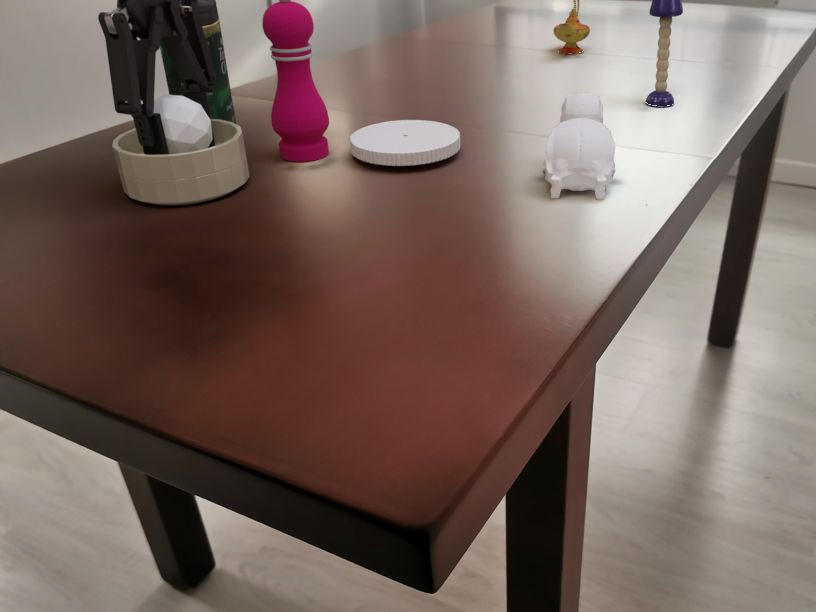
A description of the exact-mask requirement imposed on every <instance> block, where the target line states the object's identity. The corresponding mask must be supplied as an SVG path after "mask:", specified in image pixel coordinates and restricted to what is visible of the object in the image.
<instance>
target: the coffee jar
mask: <svg viewBox="0 0 816 612" xmlns="http://www.w3.org/2000/svg"><path fill="white" fill-rule="evenodd" d="M198 8H199V17H200V20H201V24H202V27H203V31H204V34H205V38H206V41H207V45H208V48H209V52H210V56H211V59H212V63H213V66H214V70H215V73H216V81H215V82H210V83H214V91H213V92H207V98H208V103H209V104H208V105H209V108H210V119H220V120H225V121H229V122H233V123H235V124H237V119H236V112H235V107H234V102H233V96H232V95H233V94H232V90H231V84H230V83H231V82H230V76H229V71H228V64H227V59H226V52H225V47H224V46H225V45H224V40H223V33H222V27H221V21H220V15H219V11H218V5H217V0H198ZM159 50H160V54H161V61H162V64H163V70H164V75H165V80H166V86H167V91H168V95H178V96H182V93H185V92H190V91H189V90H187V89H186V87H185V86H184V84H183V82H182V80H181V78H180V76H179V74H178V72H177V70H176V68H175V66H174V64H173V62H172V60H171V58H170V56H169V54H168V52H167V50H166V48H165V46H164V44H163V42H162V41H160V48H159ZM202 71H205V69H202Z"/></svg>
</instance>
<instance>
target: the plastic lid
mask: <svg viewBox="0 0 816 612" xmlns="http://www.w3.org/2000/svg"><path fill="white" fill-rule="evenodd" d="M349 147H350V154H351V155H352V156H353V157H354V158H356V159H357V160H359V161H362V162H366V163H369V164H373V165H380V166H381V165H382V166H388V167H389V166H392V167H395V166H396V167H401V166H402V167H405V166H408V167H409V166H417V165H418V166H420V165H426V164H430V163H432V164H433V163H435V162H439V161H443V160H446V159H448V158H450V157H453V156H455V155H456V154H457V153H458V152H459V151H460V149H461V132H460V130H458V128H456V127H454V126H452V125H451V124H450V125H449V124H447V123H444V122H439V121H434V120H427V119H426V120H425V119H423V120H422V119H401V120H399V119H398V120H397V119H396V120H391V121H390V120H388V121H383V122H378V123H377V122H376V123H374V124H370V125H367V126H364V127H361V128H358V130H355V131H354V132H352V133H351V134H350V136H349Z"/></svg>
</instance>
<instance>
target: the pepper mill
mask: <svg viewBox="0 0 816 612" xmlns="http://www.w3.org/2000/svg"><path fill="white" fill-rule="evenodd" d="M314 24H315V23H314V20H313V16H312V14H311V12H310V11H309V9H308V8H307V7H306V6H304V5H303V4H302V3H300V2H296V1H292V0H278V1H277V2H274V3H273V4H271V5H270V6H267V8H266V9H265V11H264V13H263V15H262V30H263V33H264V35H265V37H266V38H267V39H268V41H270V43H271V44H272V45H271V46H270V47H269V50H270V51H271V52H270V53H271V55H270V57H271V59H272V60H274V61H275V67H276V73H277V82H276V83H277V84H276V90H275V94H274V99H273V103H272V105H271V113H270V121H271V127H272V129H273V131H274V132H275V134H277V135H278V136H279V137H280V138H281V139H280V140H279V142H278V150H279V156H280V157H281V159H283V160H285V161H287V162H292V163H293V162H296V163H302V162H312V161H313V162H314V161H316V160H320V159H323V158H325V157H327V156H328V154H329V152H330V151H329V150H330V149H329V141H328V138H327V137H326V136H324V135H325V132H326V131H327V130H328V128H329V125H330V117H329V112H328V109H327V106H326V104H325V102H324V100H323V99H322V97H321V94H320V93H319V91H318V89H317V87H316V84H315V82H314V79H313V74H312V70H311V58H313V55H314V53H313V52H312V48H313V45H312V44H311V43H310V42H309V41H310V39H311V37H312V36H313V33H314V29H315V28H314V27H315V26H314Z"/></svg>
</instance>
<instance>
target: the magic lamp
mask: <svg viewBox="0 0 816 612" xmlns="http://www.w3.org/2000/svg"><path fill="white" fill-rule="evenodd" d="M579 13H580V0H573V8H572V9H571V11H570V12H568V15H569V16H568V17H567V18H566V19H565V22H564V23H559V24H557V25H556V26H554V27H553V30H552V31H553V35H554V37H555V38H556V39H557V40H559V41H561V42H564V43H565V44H564V46H562V47H561V48H558V49H557V51H556V52H557V53H558V54H563V55H567V54H566V53H575V54H574V55H580V54H584V53H585V50H584V49H582V48H581V47H580V46H579V45H578V43H579V42H582V41H584V40H585V39H587V38H588V36H590V32H591V28H590V27H589V26H588V25H587V24H583V23H581V22H580V18H579ZM583 50H584V51H583ZM558 51H559V52H558ZM582 51H583V52H582ZM560 52H561V53H560ZM579 52H581V53H579Z"/></svg>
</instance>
